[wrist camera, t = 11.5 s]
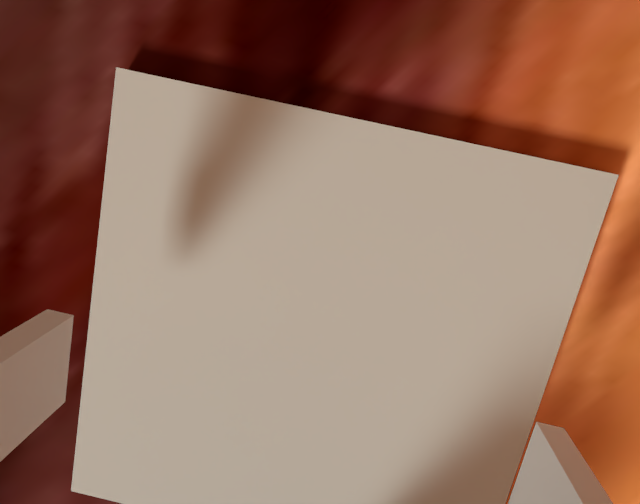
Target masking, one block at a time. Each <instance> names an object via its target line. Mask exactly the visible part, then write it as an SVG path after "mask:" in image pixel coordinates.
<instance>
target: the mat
mask: <svg viewBox="0 0 640 504" xmlns="http://www.w3.org/2000/svg"><path fill="white" fill-rule="evenodd" d="M618 176H619V175H617V174H613V173H608V172H603V171H598V170H594V169H589V168H584V167H580V166H575V165H570V164H566V163H561V162H556V161H552V160H547V159H542V158H538V157H533V156H528V155H524V154H519V153H514V152H510V151H505V150H500V149H496V148H491V147H486V146H482V145H477V144H472V143H468V142H463V141H458V140H454V139H449V138H444V137H440V136H435V135H430V134H426V133H421V132H416V131H412V130H407V129H402V128H398V127H393V126H388V125H384V124H379V123H374V122H370V121H365V120H360V119H355V118H351V117H346V116H341V115H337V114H332V113H327V112H323V111H318V110H313V109H309V108H304V107H299V106H295V105H290V104H285V103H281V102H276V101H271V100H267V99H262V98H257V97H253V96H248V95H243V94H239V93H234V92H229V91H225V90H220V89H215V88H211V87H206V86H201V85H197V84H192V83H187V82H183V81H178V80H173V79H169V78H164V77H159V76H155V75H150V74H145V73H141V72H136V71H131V70H126V69H122V68H117V67H116V74H115V83H114V93H113V102H112V112H111V121H110V130H109V140H108V149H107V158H106V168H105V177H104V186H103V196H102V205H101V215H100V224H99V233H98V243H97V252H96V261H95V271H94V280H93V290H92V299H91V308H90V318H89V327H88V336H87V346H86V355H85V364H84V374H83V383H82V393H81V402H80V411H79V421H78V430H77V439H76V449H75V458H74V467H73V477H72V486H71V491H73V492H77V493H82V494H86V495H90V496H94V497H98V498H102V499H106V500H110V501H114V502H118V503H122V504H505V503H506V501H507V498H508V495H509V492H510V489H511V486H512V483H513V480H514V477H515V474H516V472H517V469H518V466H519V463H520V460H521V457H522V454H523V451H524V448H525V445H526V443H527V440H528V437H529V434H530V431H531V428H532V425H533V422H534V419H535V416H536V414H537V411H538V408H539V405H540V402H541V399H542V396H543V393H544V390H545V387H546V385H547V382H548V379H549V376H550V373H551V370H552V367H553V364H554V361H555V358H556V356H557V353H558V350H559V347H560V344H561V341H562V338H563V335H564V332H565V329H566V327H567V324H568V321H569V318H570V315H571V312H572V309H573V306H574V303H575V300H576V298H577V295H578V292H579V289H580V286H581V283H582V280H583V277H584V274H585V271H586V269H587V266H588V263H589V260H590V257H591V254H592V251H593V248H594V245H595V242H596V240H597V237H598V234H599V231H600V228H601V225H602V222H603V219H604V216H605V213H606V211H607V208H608V205H609V202H610V199H611V196H612V193H613V190H614V187H615V184H616V182H617V179H618Z"/></svg>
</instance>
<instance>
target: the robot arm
mask: <svg viewBox="0 0 640 504" xmlns="http://www.w3.org/2000/svg"><path fill="white" fill-rule="evenodd" d="M73 317H74V315H70V314H66V313H62V312H57V311H53V310H48V309H47V310H45V311H44V312H42V313H40V314H39V315H37V316H35V317H33V318H32V319H30V320H28V321H27V322H25V323H23V324H21V325H20V326H18V327H16V328H15V329H13V330H11V331H9V332H8V333H6V334H4V335H3V336H1V337H0V462H1V461H2V460H3V459H4V458H5V457H6V456H7V455H8V454H9V453H10V452H11V451H12V450H14V449H15V448H16V447H17V446H18V445H19V444H20V443H21V442H22V441H23V440H24V439H25V438H27V437H28V436H29V435H30V434H31V433H32V432H33V431H34V430H35V429H36V428H37V427H38V426H39V425H41V424H42V423H43V422H44V421H45V420H46V419H47V418H48V417H49V416H50V415H51V414H52V413H54V412H55V411H56V410H57V409H58V408H59V407H60V406H61V405H62V404H63V403H64V402H65V397H66V387H67V377H68V367H69V357H70V347H71V337H72V327H73ZM508 504H613V503H612V501H611V500H610V498H609V496H608V495H607V493H606V492H605V490H604V489H603V487H602V486H601V484H600V483H599V481H598V480H597V478H596V476H595V475H594V473H593V472H592V470H591V469H590V467H589V466H588V464H587V463H586V461H585V460H584V458H583V456H582V455H581V453H580V452H579V450H578V449H577V447H576V446H575V444H574V443H573V441H572V439H571V438H570V436H569V435H568V433H567V432H566V430H565V429H564V428H562V427H557V426H553V425H549V424H544V423H540V422H536V424H535V427H534V430H533V433H532V436H531V438H530V441H529V444H528V447H527V450H526V453H525V456H524V459H523V462H522V465H521V467H520V470H519V473H518V476H517V479H516V482H515V485H514V488H513V491H512V493H511V496H510V499H509V502H508Z"/></svg>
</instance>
